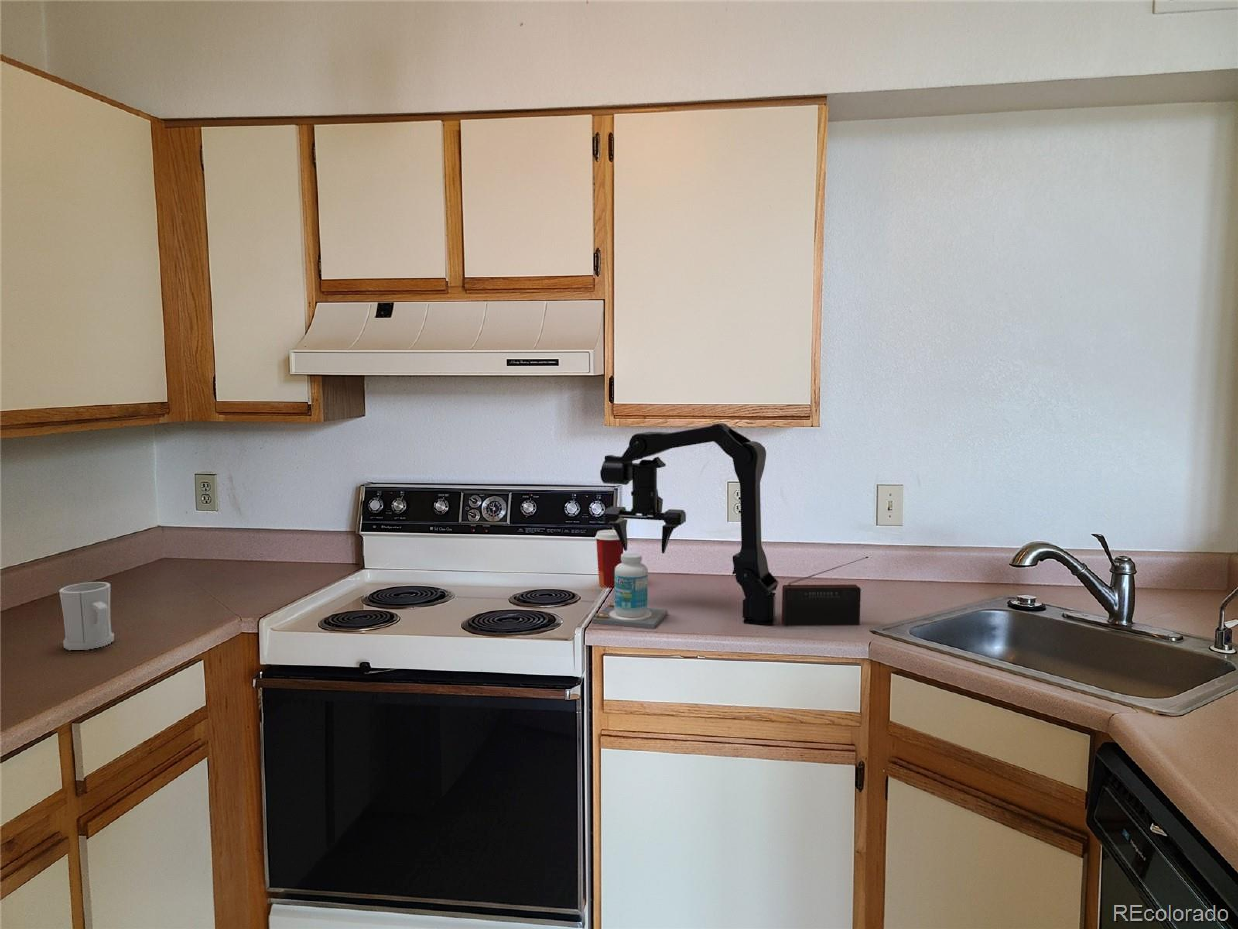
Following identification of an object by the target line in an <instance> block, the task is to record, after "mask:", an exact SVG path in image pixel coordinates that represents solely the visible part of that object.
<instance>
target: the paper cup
mask: <svg viewBox="0 0 1238 929" xmlns="http://www.w3.org/2000/svg"><path fill="white" fill-rule="evenodd" d="M594 539H596V540H595V541H596V557H597V558H596V559H597V571H598V573H597V574H598V586H599V587H600V588H605V589H606V587H609V588H608V589H613V588H614V589H615V568H616V566H617V565H618V564H620V563H622V561H621V554H623V553H624V549H623V546H622V544H621V542H620V539H619V537H618V535H617V533H616V531H615V529H602V530H598V531H597V532H596V535H595V536H594Z"/></svg>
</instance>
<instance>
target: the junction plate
mask: <svg viewBox="0 0 1238 929" xmlns="http://www.w3.org/2000/svg"><path fill="white" fill-rule="evenodd" d="M667 615H668V609H665V608H652V607H647V613H646V614H645V615H643V616H640V617H623V616H619V615H617V614H616V613H615V610H614V602H609V603H608V605H607V606H606V607H605V608H603V610H601V611H600V612H598V613H595V614H594V617H592V618H591V620H592V621H591V623H592V624H598V625H609V626H619V627H627V628H628V627H629V628H642V629H649V630H651V629H652V630H653V629H655V628H656V627H657V626H658V625H659V624H660V623H661V621H663V619H665V617H666V616H667Z"/></svg>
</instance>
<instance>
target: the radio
mask: <svg viewBox="0 0 1238 929" xmlns="http://www.w3.org/2000/svg"><path fill="white" fill-rule="evenodd" d="M868 558H869V556H865V557H863V558H859V559H856V560H854V561H851V562H848V563H845V564H842V565H839V566H836V567H833V568H829V569H827V570H824V571H821V572H818V573H815V574H812V575H809V576H805V577H803V578H800V579H797V580H793V581H791V582H788V584H783V585H782V587H781V588H782V592H781V593H782V594H781V623H782V624H783V626H785V627H812V626H813V627H815V626H819V627H822V626H823V627H824V626H826V627H827V626H829V627H830V626H841V627H842V626H860V623H861V598H862V597H861V590H862V589H861V587H859V586H858V585H857V584H855V583H853V584H849V583H848V584H794V583H797V582H800V581H803V580H806V579H809V578H812V577H815V576H817V575H820V574H823V573H826V572H827V573H828V572H829V571H833V570H836V569H840V568H841V567H843V566H846V565H850V564H852V563H855V562H858V561H861V560H862V561H863V560H864V559H868Z"/></svg>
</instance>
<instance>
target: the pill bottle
mask: <svg viewBox="0 0 1238 929" xmlns="http://www.w3.org/2000/svg"><path fill="white" fill-rule="evenodd" d="M642 560H643V554H642V553H639V552H623V554H621V561H622V563H620V564H618V565H617V566H616V568H615V588H614V596H613V597H614V599H613V600H614V602H613V603H614V610H615V613H616V614H617V615H619V616H623V617H640V616H643V615H645V614H646V613H647V608H648V595H649V594H648V589H649V588H648V582H649V578H648V577H649V576H648V575H649V574H648V572H649V570H648V567H647V565H645V564H644V563H642Z"/></svg>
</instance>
